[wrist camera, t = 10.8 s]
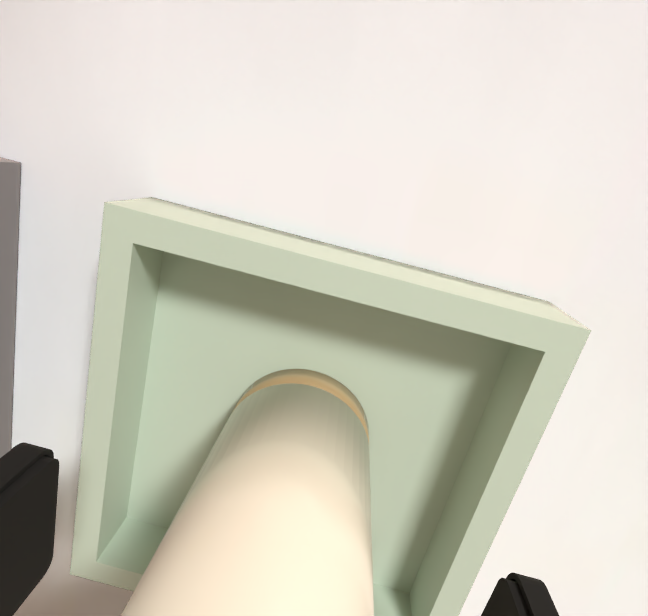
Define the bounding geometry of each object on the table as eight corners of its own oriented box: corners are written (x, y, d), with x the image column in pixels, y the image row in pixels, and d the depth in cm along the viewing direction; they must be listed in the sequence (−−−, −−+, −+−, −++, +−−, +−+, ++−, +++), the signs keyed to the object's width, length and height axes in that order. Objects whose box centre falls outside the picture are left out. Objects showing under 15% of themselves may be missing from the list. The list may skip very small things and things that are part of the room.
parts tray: (151, 197, 13) (104, 202, 11) (548, 301, 13) (591, 330, 10) (111, 516, 17) (69, 574, 14) (422, 599, 16) (431, 671, 14)
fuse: (246, 352, 13) (-34, 784, 4) (386, 390, 13) (445, 915, 4) (221, 469, 15) (-35, 1007, 5) (348, 503, 15) (324, 1105, 5)
